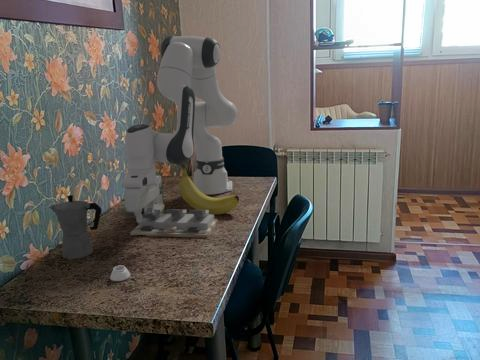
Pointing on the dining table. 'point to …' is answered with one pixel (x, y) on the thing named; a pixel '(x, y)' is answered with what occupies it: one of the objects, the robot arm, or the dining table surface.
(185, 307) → the dining table surface
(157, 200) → the syrup box
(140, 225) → the switch housing
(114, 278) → the white cup
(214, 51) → the robot arm
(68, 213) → the coffeepot
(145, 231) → the switch board
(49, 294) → the dining table surface
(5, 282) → the dining table surface
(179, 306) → the dining table surface
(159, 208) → the block
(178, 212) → the rocker
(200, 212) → the rocker
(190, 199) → the banana
